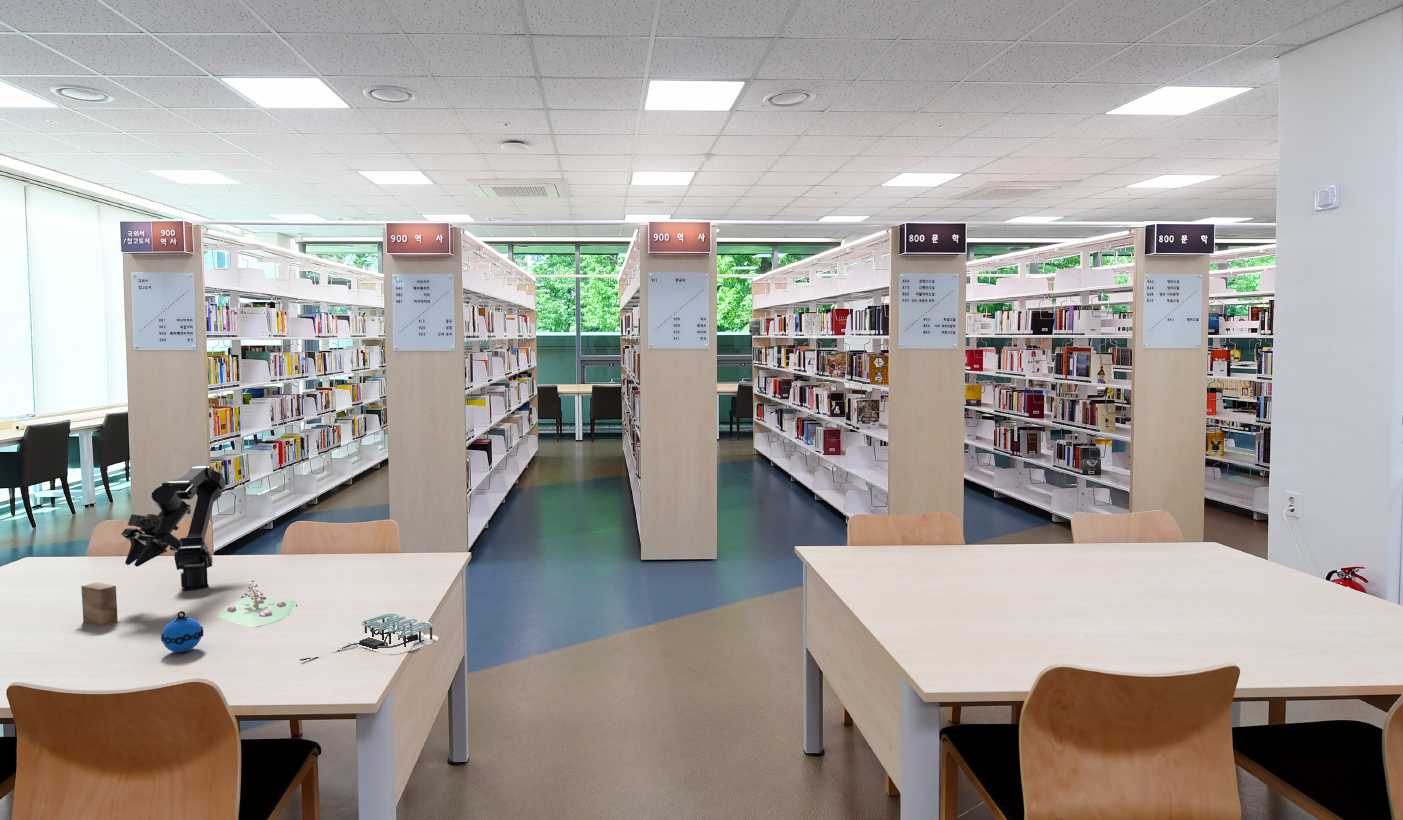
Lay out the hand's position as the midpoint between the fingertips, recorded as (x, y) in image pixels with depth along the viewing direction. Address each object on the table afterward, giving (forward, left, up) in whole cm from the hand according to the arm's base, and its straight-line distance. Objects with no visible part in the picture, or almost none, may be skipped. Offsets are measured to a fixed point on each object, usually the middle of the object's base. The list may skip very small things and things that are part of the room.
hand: (131, 565), depth 227 cm
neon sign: (-46, +68, -14) cm, 83 cm away
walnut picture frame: (+7, +4, -14) cm, 16 cm away
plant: (-29, +21, -14) cm, 38 cm away
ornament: (-9, +43, -14) cm, 46 cm away
